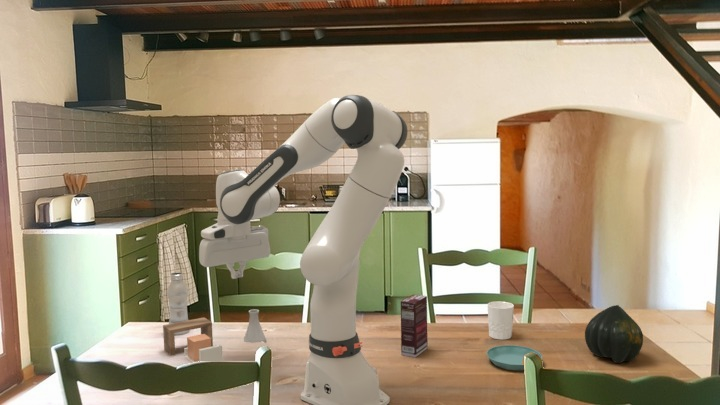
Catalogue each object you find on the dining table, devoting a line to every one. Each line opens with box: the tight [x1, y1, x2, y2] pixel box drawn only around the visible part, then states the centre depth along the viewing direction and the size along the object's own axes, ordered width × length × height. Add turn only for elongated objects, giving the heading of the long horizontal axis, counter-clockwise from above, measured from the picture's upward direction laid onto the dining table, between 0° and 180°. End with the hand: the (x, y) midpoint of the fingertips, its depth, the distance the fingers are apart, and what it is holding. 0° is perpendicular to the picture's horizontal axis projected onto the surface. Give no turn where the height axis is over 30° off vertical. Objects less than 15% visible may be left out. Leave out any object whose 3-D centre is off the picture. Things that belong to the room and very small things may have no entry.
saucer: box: [486, 344, 543, 371], centre depth 165 cm, size 15×15×3 cm
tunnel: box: [162, 317, 214, 357], centre depth 176 cm, size 6×12×8 cm, turn 126°
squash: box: [584, 304, 644, 364], centre depth 168 cm, size 14×15×15 cm
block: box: [186, 333, 211, 361], centre depth 169 cm, size 5×5×6 cm
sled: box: [183, 344, 223, 363], centre depth 167 cm, size 15×6×6 cm, turn 36°
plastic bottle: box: [166, 271, 190, 336], centre depth 191 cm, size 6×7×20 cm
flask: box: [243, 308, 267, 344], centre depth 184 cm, size 7×7×10 cm
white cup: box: [487, 300, 515, 340], centre depth 187 cm, size 8×8×10 cm
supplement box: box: [400, 294, 429, 358], centre depth 174 cm, size 9×5×16 cm, turn 149°
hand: (237, 277), depth 169 cm, fingers closed
